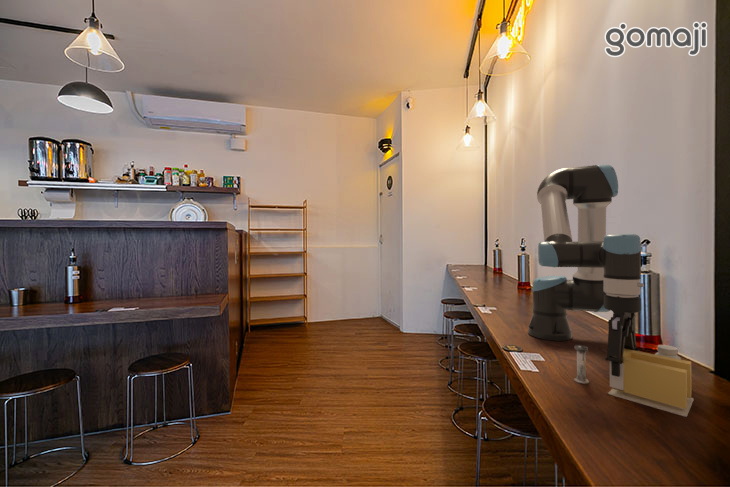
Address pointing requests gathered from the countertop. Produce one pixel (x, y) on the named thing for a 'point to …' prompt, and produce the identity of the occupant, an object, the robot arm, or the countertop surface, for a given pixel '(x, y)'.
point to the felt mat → (653, 402)
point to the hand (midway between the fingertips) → (622, 381)
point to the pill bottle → (667, 351)
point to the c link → (657, 377)
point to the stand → (581, 364)
